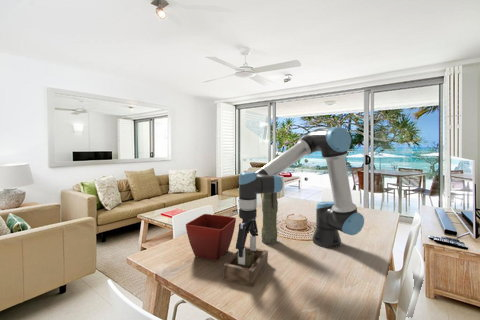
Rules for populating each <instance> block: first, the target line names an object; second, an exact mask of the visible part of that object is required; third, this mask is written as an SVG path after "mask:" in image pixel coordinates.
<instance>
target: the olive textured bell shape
mask: <svg viewBox="0 0 480 320" xmlns="http://www.w3.org/2000/svg"><path fill="white" fill-rule="evenodd" d="M236 252H237V264H238V250H237V251H236ZM254 255H255V254H254V253H253V252H252V251H251V252H250V253H249V251H248V252H247V251H245V265H242V264H238V266H241V267H245V268H251V266H252V264H253V259H254Z"/></svg>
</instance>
